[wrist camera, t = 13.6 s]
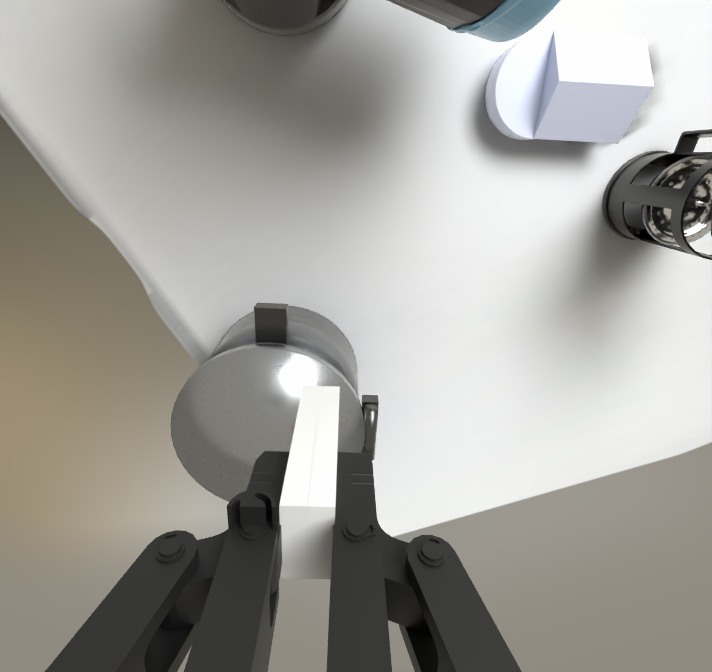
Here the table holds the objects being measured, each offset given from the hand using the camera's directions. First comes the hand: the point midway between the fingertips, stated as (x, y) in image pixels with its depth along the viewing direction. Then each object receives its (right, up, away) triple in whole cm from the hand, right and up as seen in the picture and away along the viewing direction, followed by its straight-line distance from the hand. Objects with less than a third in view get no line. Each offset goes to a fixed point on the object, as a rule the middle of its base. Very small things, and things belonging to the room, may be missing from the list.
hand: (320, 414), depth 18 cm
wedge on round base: (+21, +28, +26) cm, 44 cm away
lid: (-7, -6, +26) cm, 28 cm away
